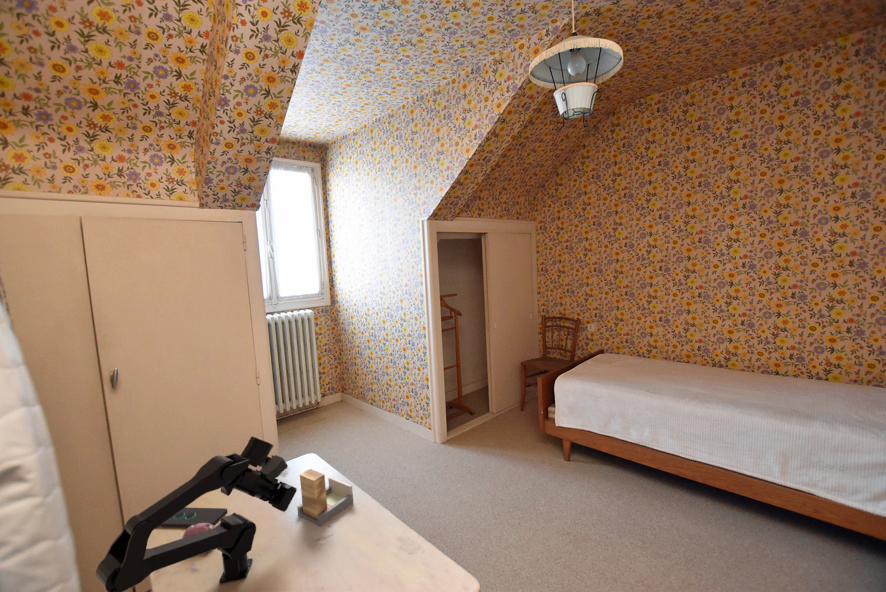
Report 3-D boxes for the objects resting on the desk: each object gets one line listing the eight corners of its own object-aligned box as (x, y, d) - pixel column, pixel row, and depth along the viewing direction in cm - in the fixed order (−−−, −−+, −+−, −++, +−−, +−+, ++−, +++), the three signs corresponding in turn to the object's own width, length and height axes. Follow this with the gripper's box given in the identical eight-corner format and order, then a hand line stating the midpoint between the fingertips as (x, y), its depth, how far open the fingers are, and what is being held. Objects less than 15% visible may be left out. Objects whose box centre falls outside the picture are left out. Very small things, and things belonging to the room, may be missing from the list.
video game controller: (217, 549, 113) (222, 522, 116) (207, 553, 109) (212, 525, 112) (186, 548, 114) (191, 521, 117) (174, 552, 110) (180, 524, 113)
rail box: (320, 526, 118) (318, 508, 118) (298, 515, 124) (296, 497, 124) (353, 502, 130) (352, 485, 129) (331, 493, 136) (330, 476, 135)
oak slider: (317, 519, 120) (313, 480, 119) (303, 511, 124) (299, 474, 123) (327, 511, 123) (324, 474, 122) (313, 504, 127) (310, 468, 126)
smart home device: (173, 506, 131) (228, 507, 128) (174, 511, 131) (228, 512, 129) (152, 523, 123) (210, 524, 120) (153, 528, 123) (211, 530, 120)
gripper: (287, 460, 104) (323, 479, 115) (249, 445, 115) (285, 463, 125) (262, 504, 99) (303, 519, 109) (225, 483, 109) (265, 499, 119)
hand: (289, 498), depth 116 cm, fingers closed
